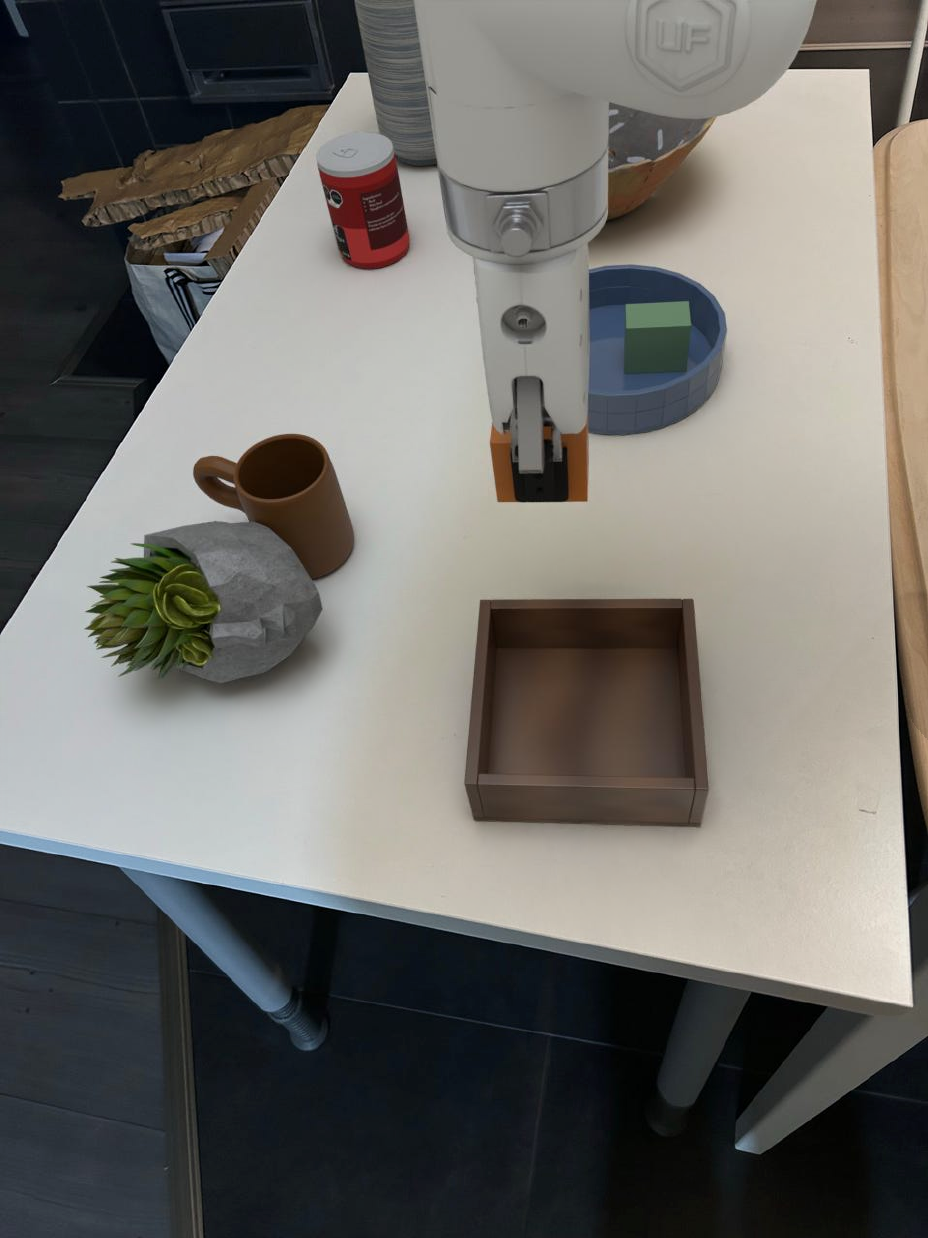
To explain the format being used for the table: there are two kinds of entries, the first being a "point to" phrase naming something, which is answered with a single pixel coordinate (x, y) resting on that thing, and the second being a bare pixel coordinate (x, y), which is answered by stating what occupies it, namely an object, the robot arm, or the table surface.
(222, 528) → the potted plant
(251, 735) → the table surface
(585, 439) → the packet orange
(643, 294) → the blue round dish
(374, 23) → the vase
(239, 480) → the mug
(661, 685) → the holder
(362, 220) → the canned food
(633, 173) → the bowl
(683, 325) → the packet green
